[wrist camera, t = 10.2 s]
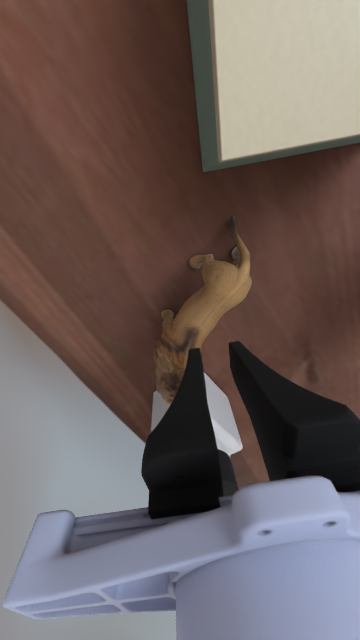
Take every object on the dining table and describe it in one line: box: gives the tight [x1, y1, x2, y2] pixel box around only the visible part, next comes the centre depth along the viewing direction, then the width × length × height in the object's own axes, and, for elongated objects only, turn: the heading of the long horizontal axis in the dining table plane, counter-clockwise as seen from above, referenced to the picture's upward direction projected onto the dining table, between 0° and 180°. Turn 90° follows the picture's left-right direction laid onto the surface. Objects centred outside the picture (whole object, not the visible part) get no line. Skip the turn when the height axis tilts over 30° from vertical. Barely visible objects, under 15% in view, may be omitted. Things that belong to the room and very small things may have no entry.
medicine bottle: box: [151, 373, 243, 496], centre depth 24 cm, size 7×7×12 cm
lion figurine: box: [154, 216, 252, 405], centre depth 18 cm, size 15×5×9 cm, turn 158°
